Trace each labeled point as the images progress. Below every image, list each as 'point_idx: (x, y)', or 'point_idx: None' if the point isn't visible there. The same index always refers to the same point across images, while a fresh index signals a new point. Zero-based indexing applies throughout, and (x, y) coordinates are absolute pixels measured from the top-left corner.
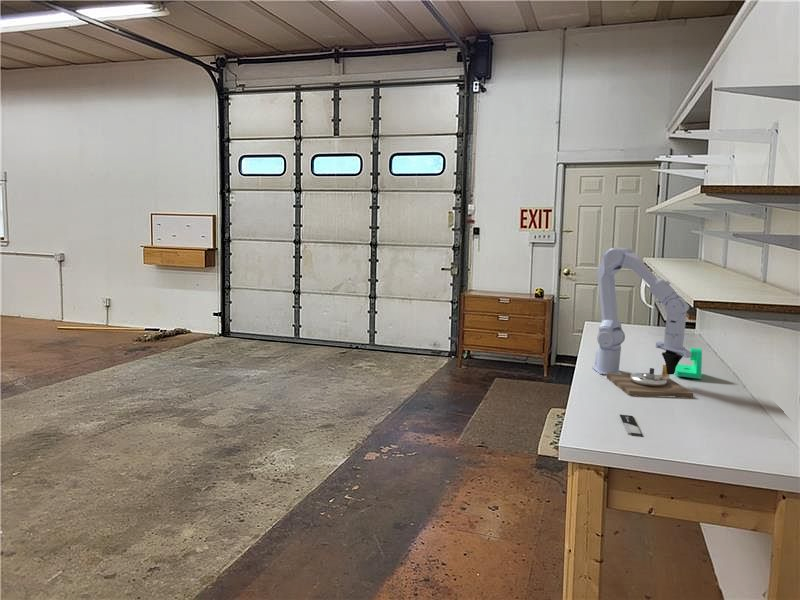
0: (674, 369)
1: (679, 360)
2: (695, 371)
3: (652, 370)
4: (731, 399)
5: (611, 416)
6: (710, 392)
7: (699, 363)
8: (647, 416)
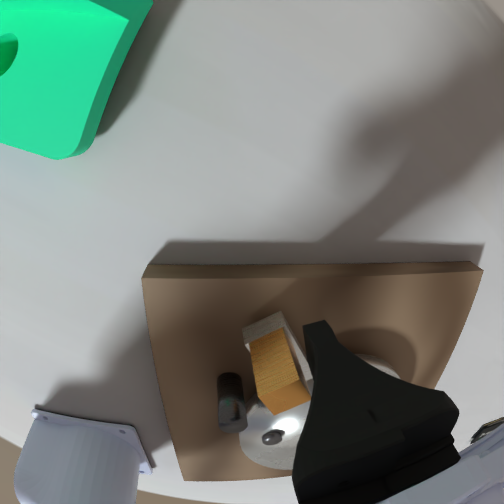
0: (336, 343)
1: (402, 383)
2: (74, 11)
3: (246, 419)
4: (492, 86)
5: (462, 449)
6: (415, 102)
7: None
8: (491, 408)
